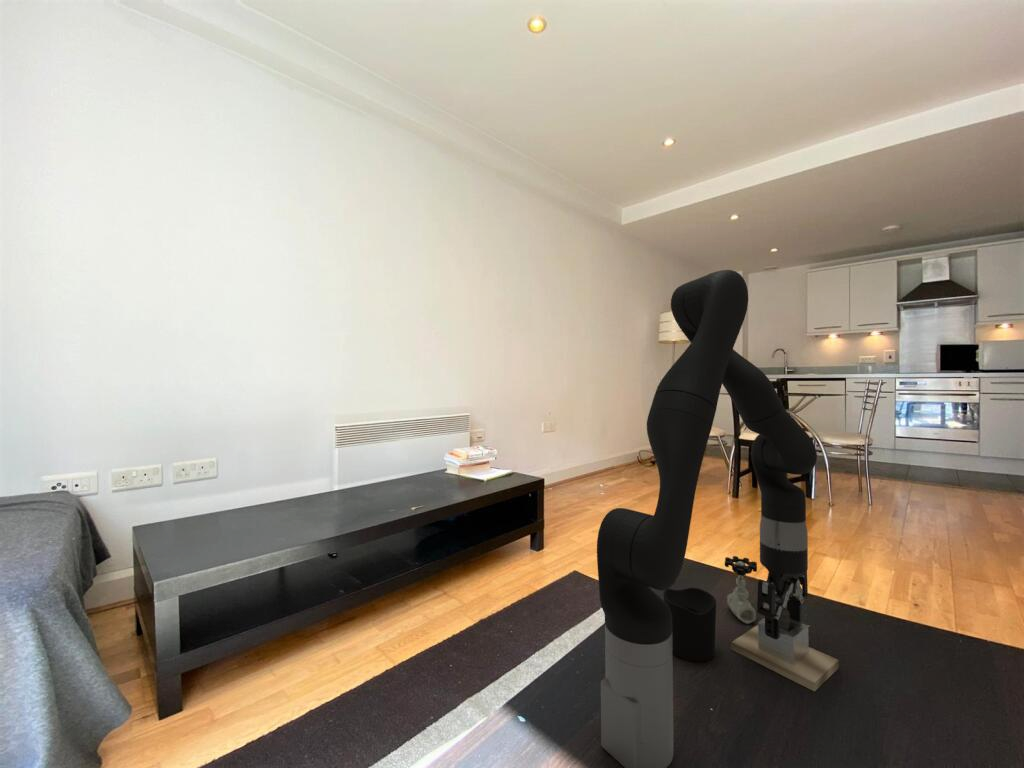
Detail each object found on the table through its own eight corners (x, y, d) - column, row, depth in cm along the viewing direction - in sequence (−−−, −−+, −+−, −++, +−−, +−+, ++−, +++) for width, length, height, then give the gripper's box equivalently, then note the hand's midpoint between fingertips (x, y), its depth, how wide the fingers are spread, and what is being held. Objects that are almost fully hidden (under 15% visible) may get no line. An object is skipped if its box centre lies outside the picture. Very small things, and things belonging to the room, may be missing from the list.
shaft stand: (814, 691, 73) (814, 634, 73) (731, 649, 85) (731, 600, 84) (838, 668, 79) (838, 615, 79) (757, 631, 90) (757, 585, 90)
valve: (750, 609, 99) (749, 556, 99) (764, 625, 92) (763, 568, 92) (719, 608, 100) (719, 555, 100) (731, 624, 93) (730, 568, 93)
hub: (793, 665, 77) (793, 637, 77) (758, 648, 82) (758, 622, 82) (808, 652, 81) (808, 625, 81) (773, 637, 86) (773, 611, 86)
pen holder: (709, 671, 79) (709, 615, 78) (657, 652, 84) (656, 600, 84) (721, 645, 86) (721, 594, 86) (672, 629, 92) (672, 581, 92)
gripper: (787, 557, 74) (787, 653, 74) (822, 539, 82) (823, 625, 82) (742, 544, 80) (742, 632, 80) (779, 528, 88) (780, 609, 88)
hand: (783, 629), depth 81 cm, fingers open, 8 cm apart
